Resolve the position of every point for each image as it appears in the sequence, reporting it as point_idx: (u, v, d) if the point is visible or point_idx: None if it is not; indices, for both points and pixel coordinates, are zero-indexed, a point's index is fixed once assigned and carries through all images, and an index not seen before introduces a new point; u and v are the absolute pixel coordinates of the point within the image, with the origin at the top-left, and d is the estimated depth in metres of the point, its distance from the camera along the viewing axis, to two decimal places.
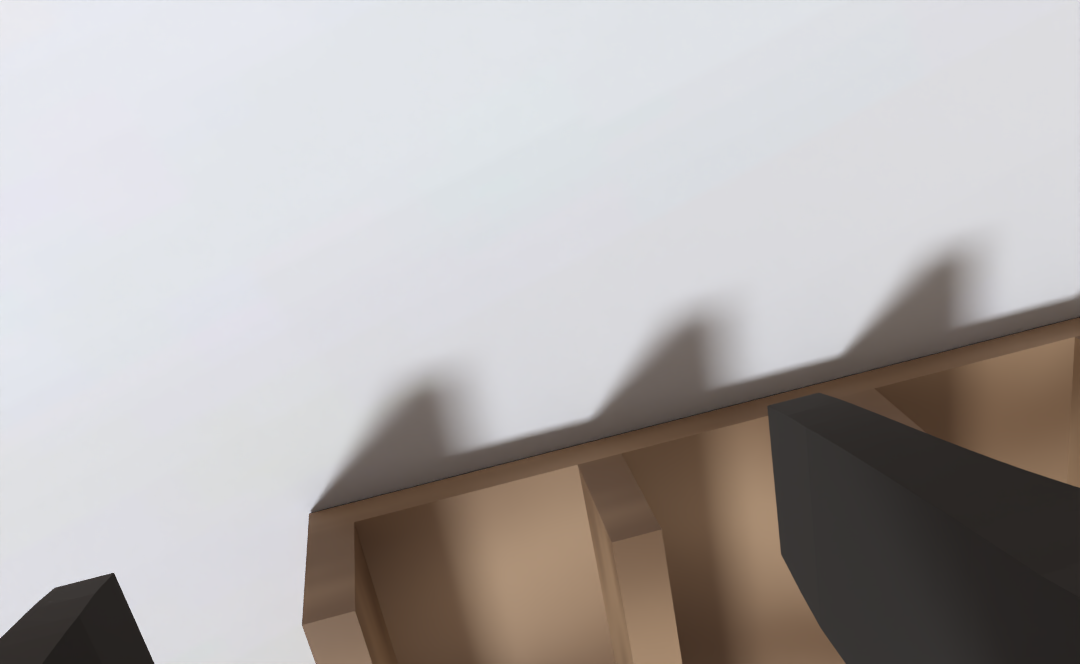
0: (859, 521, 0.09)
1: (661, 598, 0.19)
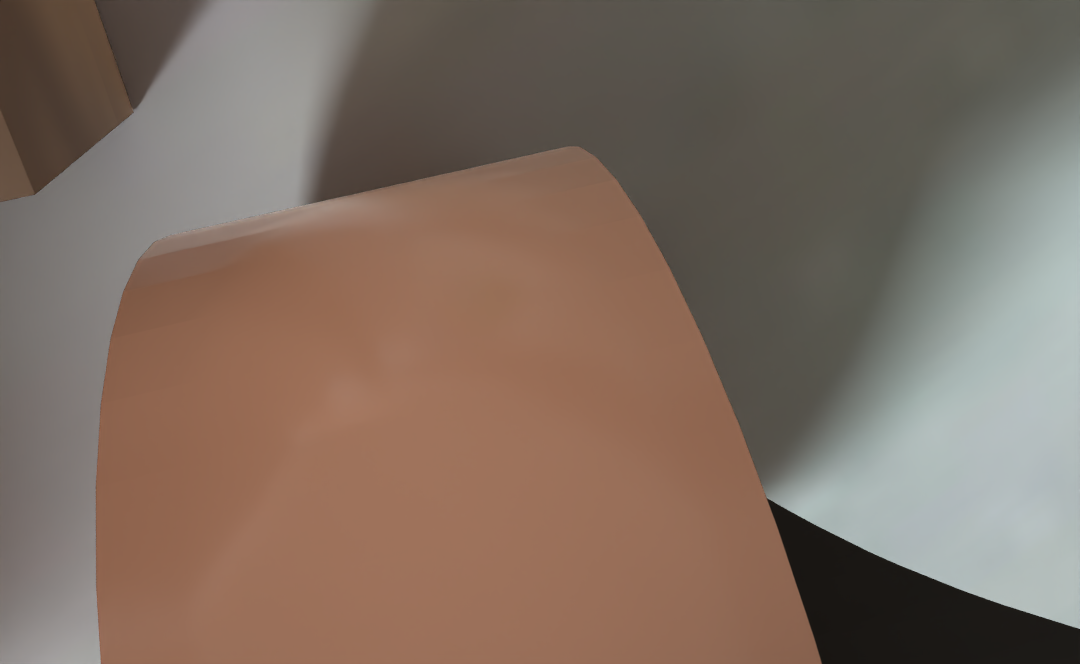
0: None
1: None
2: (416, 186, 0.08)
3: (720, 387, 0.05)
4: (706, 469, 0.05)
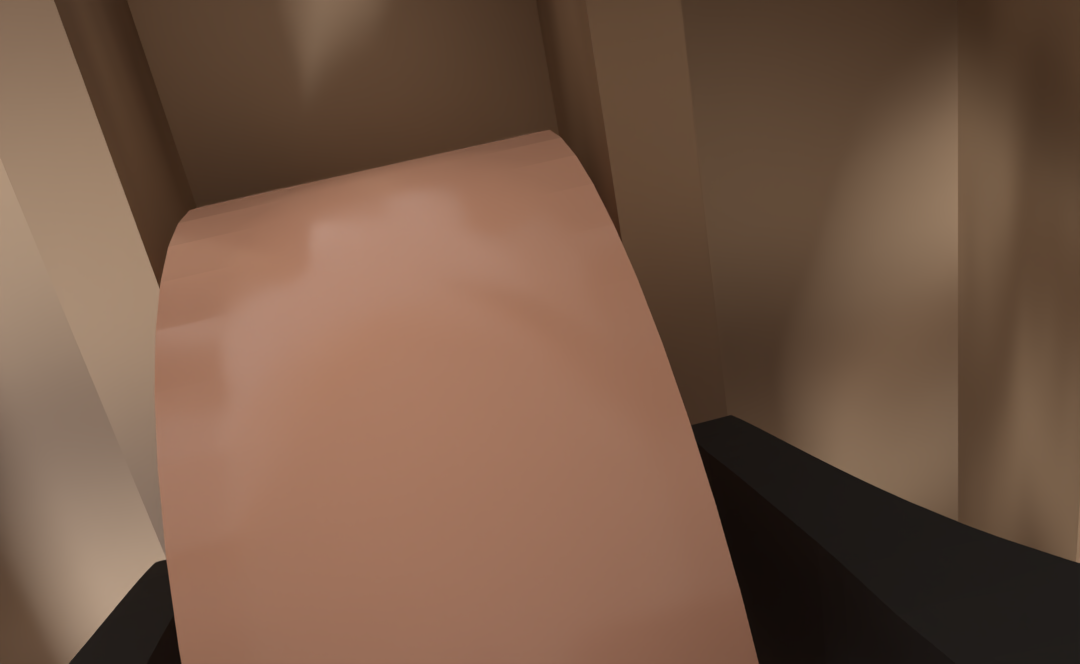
0: (756, 549, 0.09)
1: (68, 104, 0.09)
2: (410, 163, 0.09)
3: (649, 315, 0.07)
4: (635, 377, 0.07)
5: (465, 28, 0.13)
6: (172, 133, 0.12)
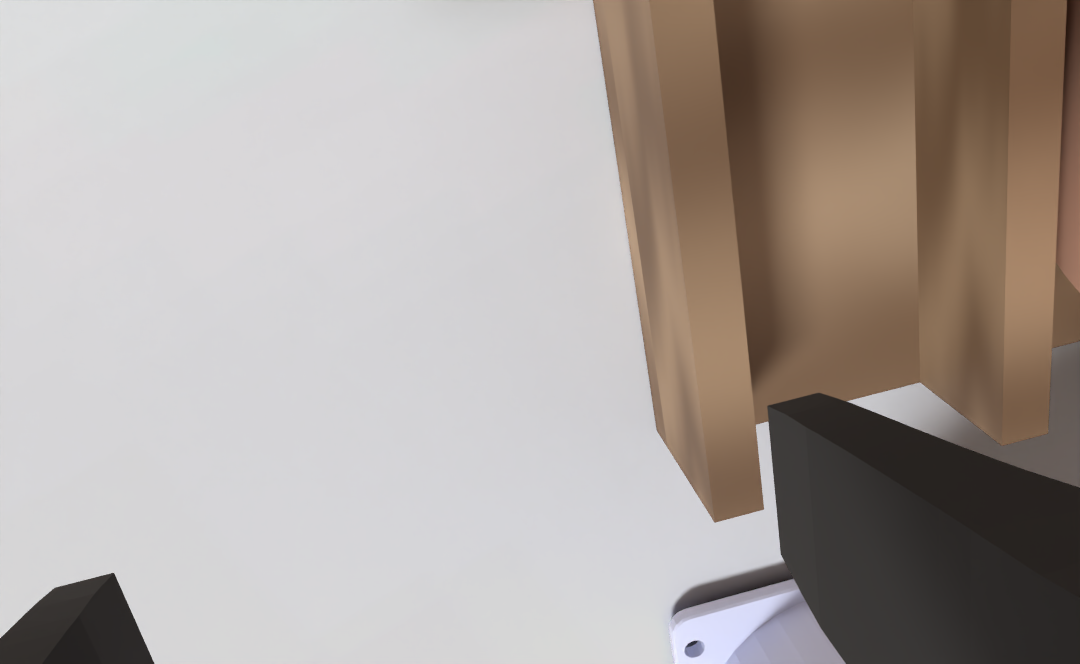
0: (858, 520, 0.09)
1: None
2: None
3: None
4: None
5: None
6: None
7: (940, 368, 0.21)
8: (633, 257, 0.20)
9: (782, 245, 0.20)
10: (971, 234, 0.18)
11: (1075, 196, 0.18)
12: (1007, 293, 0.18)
